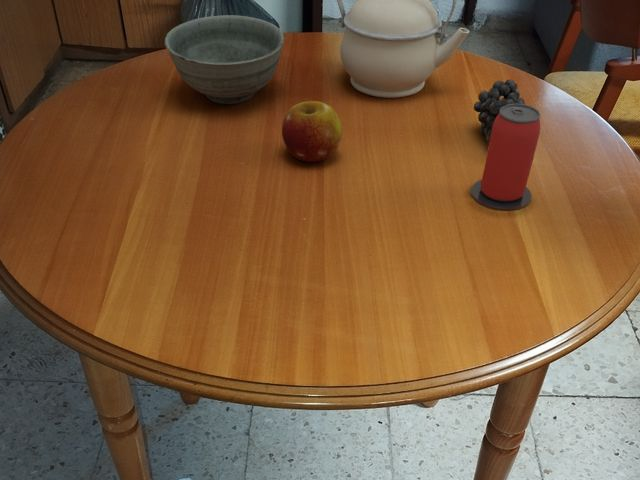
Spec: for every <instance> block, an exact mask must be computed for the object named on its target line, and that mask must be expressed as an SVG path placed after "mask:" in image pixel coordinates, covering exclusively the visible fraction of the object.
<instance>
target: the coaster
mask: <svg viewBox="0 0 640 480" xmlns="http://www.w3.org/2000/svg"><path fill="white" fill-rule="evenodd" d="M481 182H482V179H480V180H477V181H476V182H474V183H473V184H472V186H471V188H470V195H471V198H472V199H473V200H474V201H475V202H476V203H478V204H479V205H481V206H483V207H485V208H488V209H491V210H496V211H516V210H520V209H523V208H525V207H527V206H528V205H529V204H530V202H531V200H532V192H531V191H530V189H529V188H528V187H527V186H526V189H525V193H524V194H523V195H522V197H521V198H519V199H517V200H514V201H510V202H502V201H496V200H493V199H490V198H489V197H487V196H486V195H485V194H484V193H483V192H482V190H481Z"/></svg>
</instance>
